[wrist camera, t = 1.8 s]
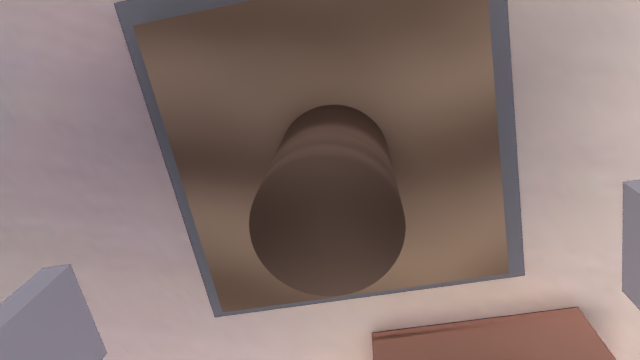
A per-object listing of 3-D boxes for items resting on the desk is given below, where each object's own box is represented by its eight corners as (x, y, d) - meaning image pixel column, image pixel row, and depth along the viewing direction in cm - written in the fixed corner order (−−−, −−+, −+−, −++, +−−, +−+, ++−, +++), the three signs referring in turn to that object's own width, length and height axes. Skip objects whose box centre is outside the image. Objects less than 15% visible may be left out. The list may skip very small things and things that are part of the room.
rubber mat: (119, 3, 20) (113, 3, 19) (497, -82, 18) (501, -84, 17) (217, 311, 25) (214, 317, 24) (521, 269, 23) (524, 275, 22)
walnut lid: (145, 24, 20) (25, 39, 12) (475, -48, 18) (560, -78, 11) (228, 297, 24) (176, 427, 17) (501, 259, 22) (573, 384, 15)
